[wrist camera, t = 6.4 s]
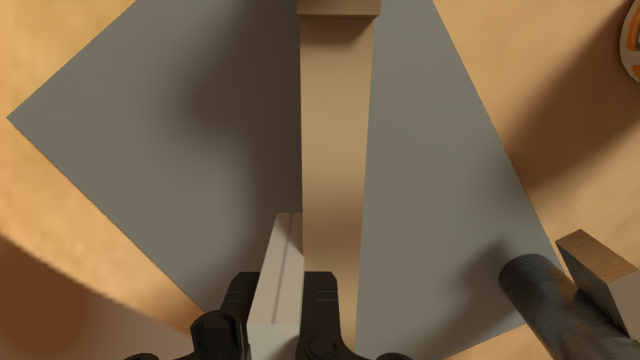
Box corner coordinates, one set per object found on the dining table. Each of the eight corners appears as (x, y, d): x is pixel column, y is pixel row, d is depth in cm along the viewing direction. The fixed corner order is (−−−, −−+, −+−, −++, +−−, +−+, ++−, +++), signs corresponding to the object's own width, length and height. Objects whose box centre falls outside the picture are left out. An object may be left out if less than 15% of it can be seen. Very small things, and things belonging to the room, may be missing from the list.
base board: (16, 115, 17) (6, 117, 16) (341, -175, 13) (342, -185, 12) (311, 408, 25) (311, 416, 24) (571, 293, 21) (578, 300, 20)
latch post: (457, 237, 19) (603, 441, 9) (534, 196, 18) (795, 376, 8) (500, 308, 21) (660, 542, 11) (572, 275, 20) (820, 500, 10)
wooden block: (308, -13, 13) (295, -67, 7) (357, -13, 13) (385, -66, 7) (310, 299, 19) (304, 414, 13) (344, 299, 19) (353, 415, 13)
